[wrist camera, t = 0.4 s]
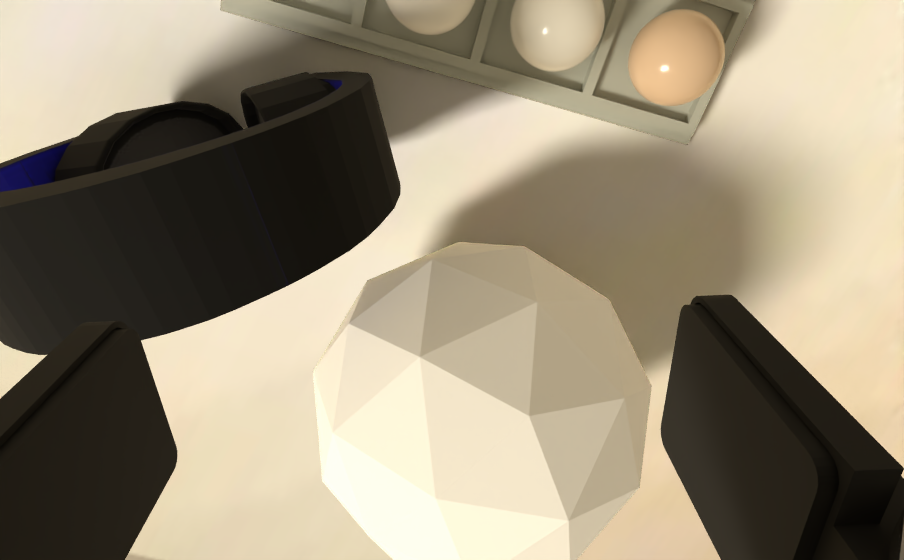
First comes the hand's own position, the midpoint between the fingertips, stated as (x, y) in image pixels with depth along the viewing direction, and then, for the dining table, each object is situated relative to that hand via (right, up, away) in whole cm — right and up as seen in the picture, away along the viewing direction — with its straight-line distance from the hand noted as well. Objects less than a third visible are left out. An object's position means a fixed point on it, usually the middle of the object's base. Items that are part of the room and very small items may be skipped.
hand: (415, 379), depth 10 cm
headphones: (-12, +11, +26) cm, 30 cm away
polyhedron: (+2, -1, +33) cm, 33 cm away
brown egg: (+13, +15, +24) cm, 31 cm away
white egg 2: (+6, +17, +23) cm, 29 cm away
